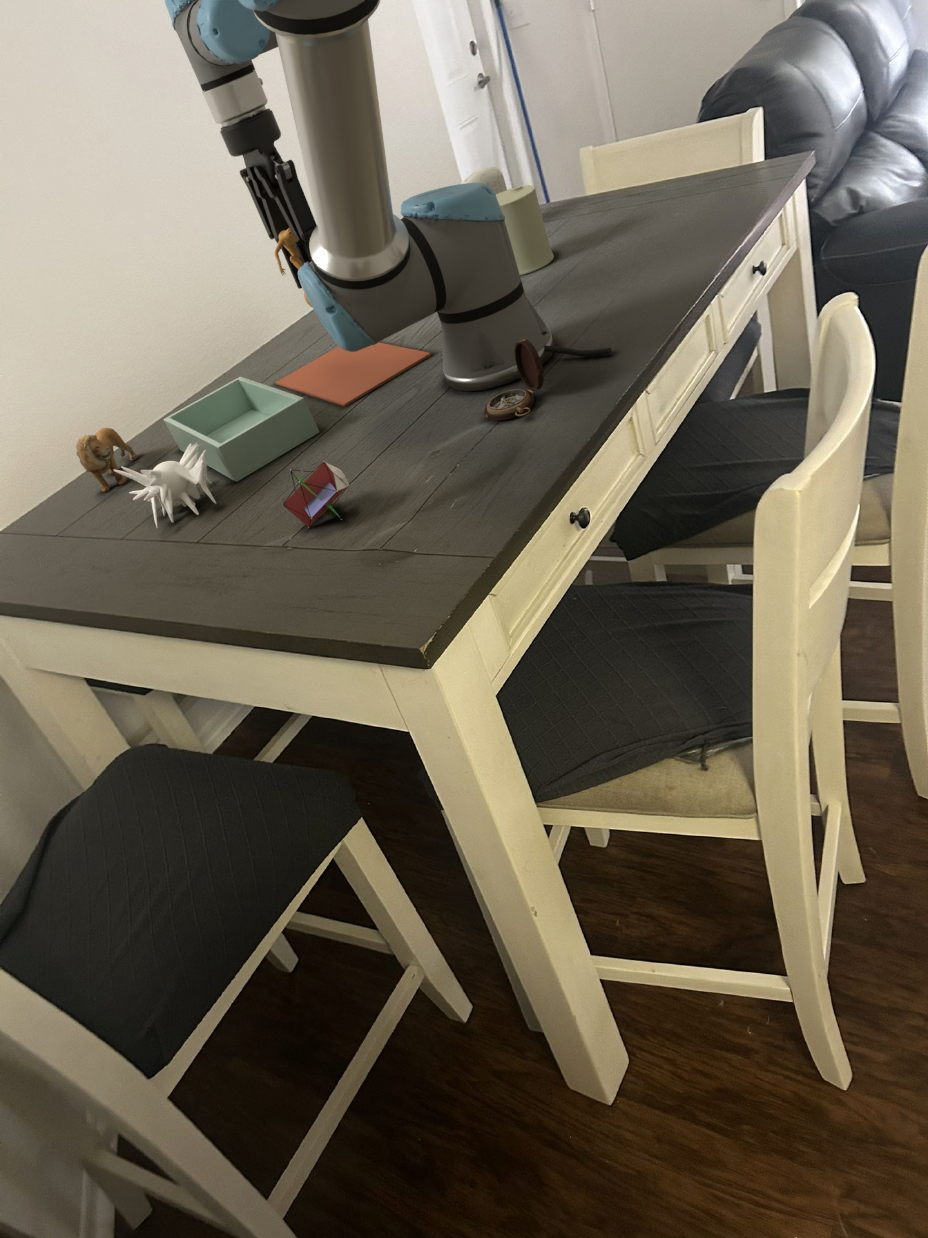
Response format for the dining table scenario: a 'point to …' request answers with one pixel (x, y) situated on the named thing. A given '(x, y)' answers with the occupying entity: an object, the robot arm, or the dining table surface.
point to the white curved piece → (488, 179)
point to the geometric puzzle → (317, 493)
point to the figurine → (287, 241)
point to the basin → (242, 426)
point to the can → (525, 228)
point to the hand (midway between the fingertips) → (314, 285)
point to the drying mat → (351, 372)
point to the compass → (517, 399)
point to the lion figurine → (102, 454)
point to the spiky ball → (173, 482)
